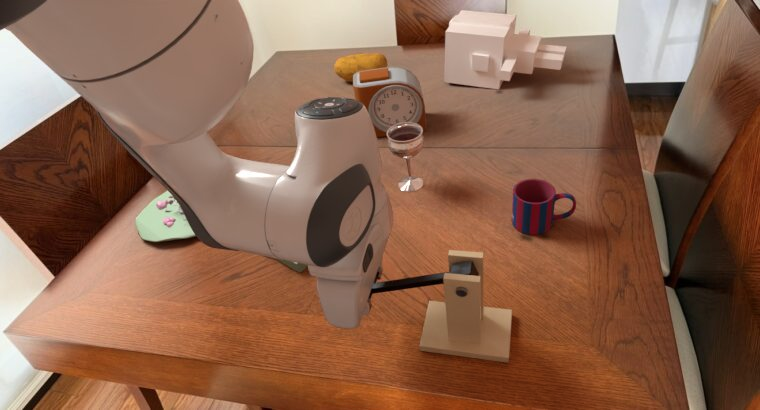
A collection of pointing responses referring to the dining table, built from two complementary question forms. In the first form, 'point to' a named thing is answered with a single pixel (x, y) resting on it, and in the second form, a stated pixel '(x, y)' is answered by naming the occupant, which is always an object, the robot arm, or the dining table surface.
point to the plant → (163, 220)
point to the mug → (536, 206)
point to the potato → (358, 64)
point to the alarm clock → (390, 97)
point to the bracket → (466, 317)
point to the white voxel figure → (493, 50)
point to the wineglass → (406, 150)
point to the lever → (422, 279)
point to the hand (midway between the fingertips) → (370, 292)
